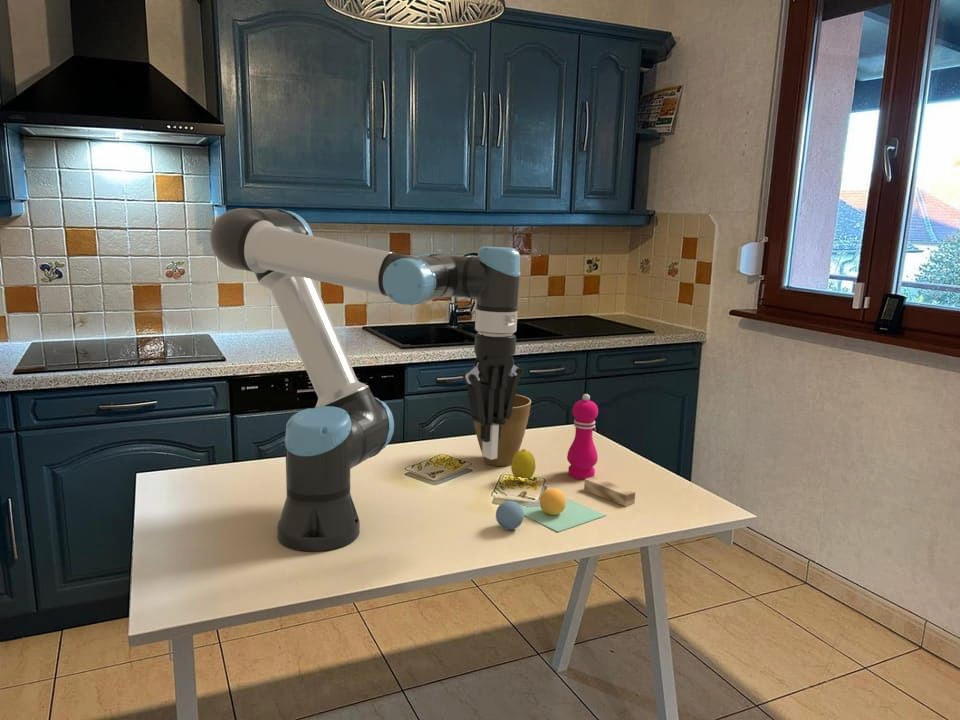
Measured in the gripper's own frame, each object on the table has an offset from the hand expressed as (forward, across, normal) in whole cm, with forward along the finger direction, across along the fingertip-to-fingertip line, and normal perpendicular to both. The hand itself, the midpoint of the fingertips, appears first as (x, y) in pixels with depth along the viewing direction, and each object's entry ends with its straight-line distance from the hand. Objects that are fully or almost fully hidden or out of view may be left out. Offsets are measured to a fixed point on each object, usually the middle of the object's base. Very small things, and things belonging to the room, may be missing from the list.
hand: (489, 456), depth 136 cm
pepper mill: (+16, +40, +13) cm, 45 cm away
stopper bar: (+16, +35, 0) cm, 38 cm away
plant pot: (+16, +30, +31) cm, 46 cm away
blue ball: (+13, +6, 0) cm, 14 cm away
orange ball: (+13, +18, 0) cm, 22 cm away
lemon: (+16, +25, +17) cm, 34 cm away
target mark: (+16, +19, 0) cm, 25 cm away
